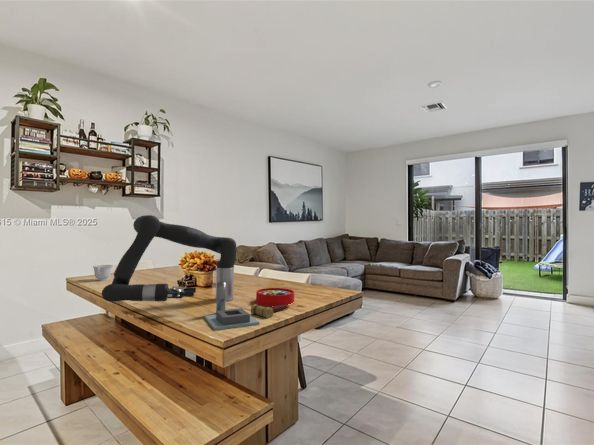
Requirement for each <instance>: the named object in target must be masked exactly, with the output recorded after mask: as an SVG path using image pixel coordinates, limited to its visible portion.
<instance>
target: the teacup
mask: <svg viewBox="0 0 594 445" xmlns="http://www.w3.org/2000/svg"><path fill="white" fill-rule="evenodd" d="M112 267H113V265H112V264H97V265H95V264H94V265H93V266H92V268H93V272H94V277H95V278H96V279H97V281H99V282H101V281H103V282H104V281H105V282H106V281H107V280H108V278H109V277H110V276H111V273H112Z"/></svg>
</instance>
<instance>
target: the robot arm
mask: <svg viewBox="0 0 594 445" xmlns="http://www.w3.org/2000/svg"><path fill="white" fill-rule="evenodd" d="M133 229H134V231H135V232H136V236H135V237H134V238H135V239H134V240H133V242H132V243H131V245H130V247H128V249H127V250H126V251H125V253H124V254H123V255H122V257H121V258H120V260H119V262H118V264H117V266H116V268H115V269H114V272H113V279H112V283H111V284H108V285H106V286H104V287H103V289H102V290H101V296H102V298H103V299H104V300H105V301H107V302H114V303H115V302H123V301H124V302H125V301H130V302H166V301H167V302H168V299H183V298H187V297H191V298H193V297H194V296H195V293H196V291H197V287H187V286H185V285H184V286H172V287H171V288H169V284H168V283H147V284H145V283H137V284H130V282H131V278H132V277H133V275H134V273H135V271H136V269H137V267H138V265H139V262H140V261H141V258H142V257H143V255H144V253H145V251H146V250H147V248H148V247H149V245H150V244H151V243H152V241H153V240H154V239H155V238H160V239H164V240H166V241H170V242H172V243H175V244H179V245H183V246H186V247H187V246H188V247H191V248H197V249H198V248H199V249H206V250H209V251H212V252H215V253H216V254H220V259H219V260H218V261H217V262H216V267H215V268H216V271H215V275H216V276H215V277H216V278H215V285H216V286H215V300H216V299H217V282H226V302H228V301H229V302H230V301H233V300H234V287H235V286H234V285H235V284H234V283H235V282H234V281H235V280H234V279H235V275H234V273H235V264H236V258H237V243H236V241H235V239H234V238H233V237H222V236H221V237H220V236H213V235H210V234H207V233H205V232H204V231H202V230H199V229H197V228H193V227H190V226H186V225H181V224H173V223H172V224H171V223H166V222H163V221H160V219H159V218H158V217H156V216H155V215H152V214H151V215H150V214H148V215H141V216H139V217H137V218H136V219H135V220H134V222H133Z"/></svg>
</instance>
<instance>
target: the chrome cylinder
mask: <svg viewBox="0 0 594 445" xmlns="http://www.w3.org/2000/svg"><path fill="white" fill-rule="evenodd" d="M215 302H216V305H215V307H216V308H215V312H216V311H219V310H226V302H227V301H226V282H217V299H216V298H215Z"/></svg>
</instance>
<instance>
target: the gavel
mask: <svg viewBox="0 0 594 445" xmlns="http://www.w3.org/2000/svg"><path fill="white" fill-rule="evenodd" d="M288 307H289V308H290V305H279V306H273V307H270V306H262V305H259V304H257V303H256V304H255V303H254V304H252V306H251V307H250V313H251V314H252V315H257V316H260V317H264V318H265V319H271V318H272V317H273V315H274V313H276V311H277V312H281V311H280V310H282V311H284V310H283V309H286V308H288ZM289 308H288V309H289ZM286 310H287V309H286Z"/></svg>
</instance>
